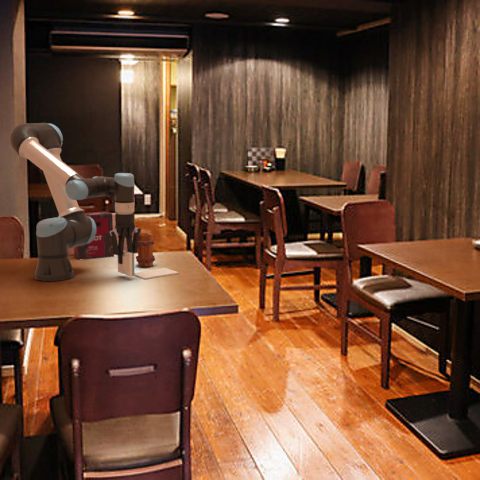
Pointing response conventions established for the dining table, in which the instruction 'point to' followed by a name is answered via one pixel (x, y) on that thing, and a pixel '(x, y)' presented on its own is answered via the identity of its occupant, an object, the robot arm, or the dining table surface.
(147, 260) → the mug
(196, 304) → the dining table surface
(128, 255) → the tile
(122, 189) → the robot arm
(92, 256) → the box
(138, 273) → the mat
